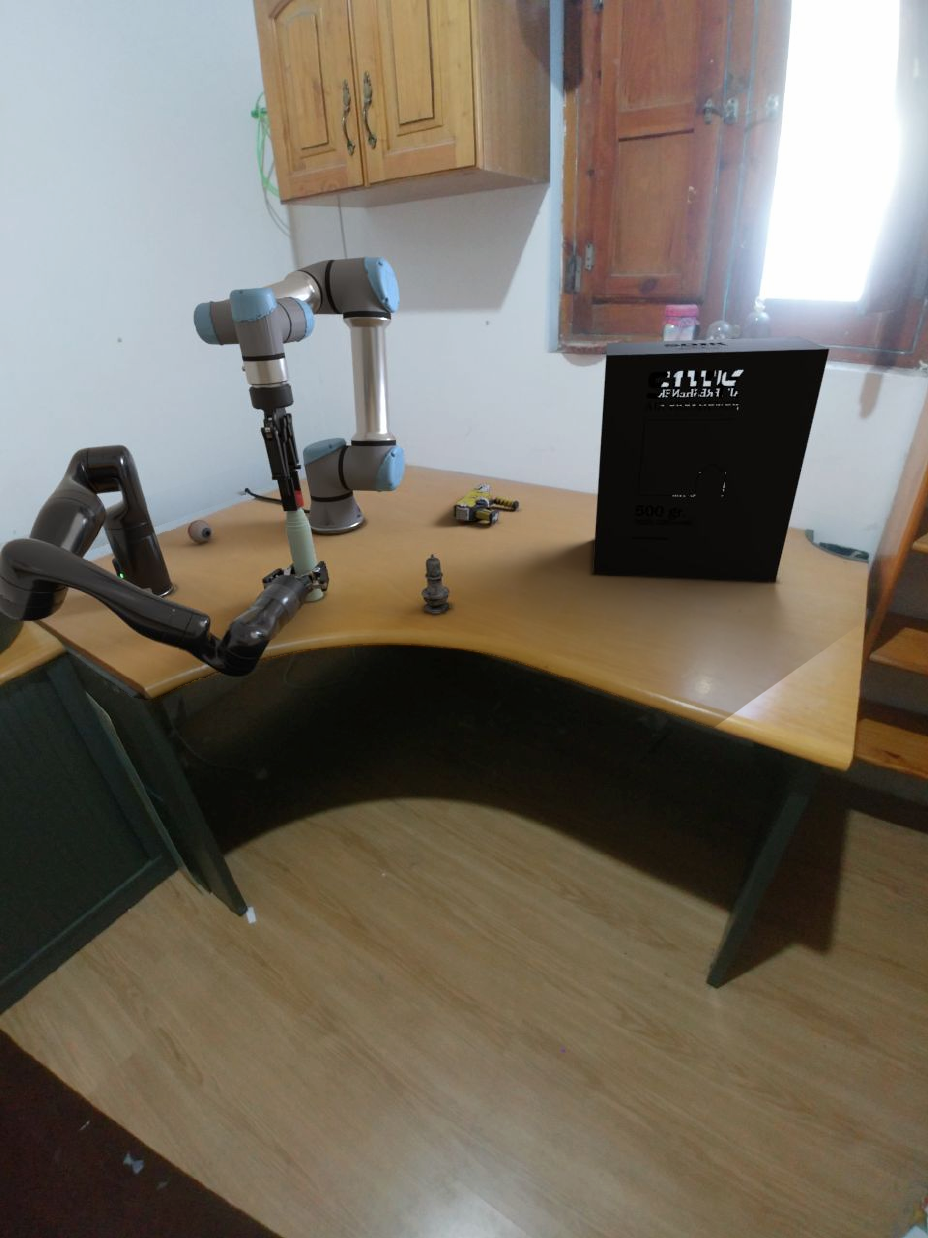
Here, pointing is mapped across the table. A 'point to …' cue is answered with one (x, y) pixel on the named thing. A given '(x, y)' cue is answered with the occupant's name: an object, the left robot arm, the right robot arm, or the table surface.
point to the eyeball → (200, 531)
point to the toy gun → (480, 505)
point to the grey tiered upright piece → (435, 588)
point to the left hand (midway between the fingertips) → (311, 564)
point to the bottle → (302, 546)
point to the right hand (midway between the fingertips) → (293, 506)
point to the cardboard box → (703, 455)
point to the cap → (299, 499)
